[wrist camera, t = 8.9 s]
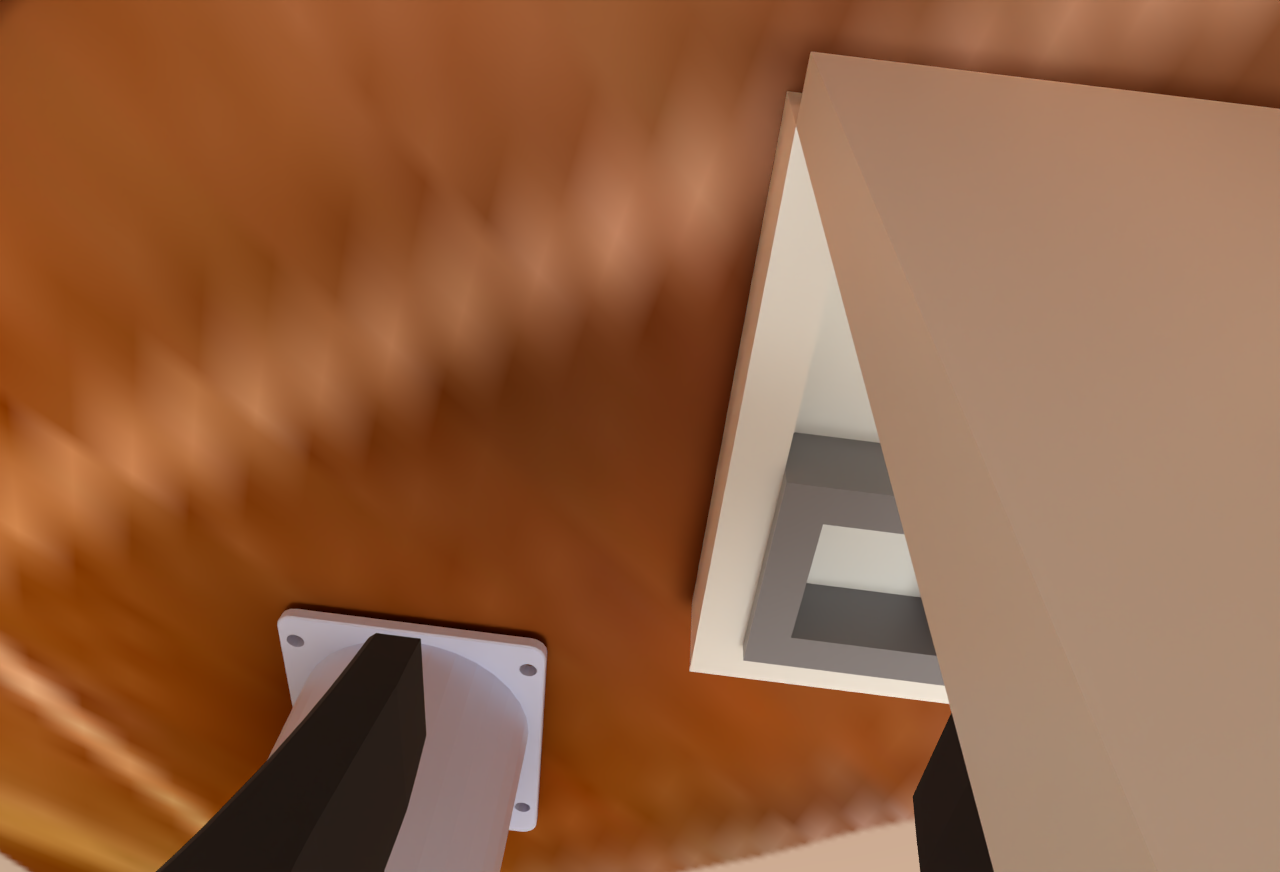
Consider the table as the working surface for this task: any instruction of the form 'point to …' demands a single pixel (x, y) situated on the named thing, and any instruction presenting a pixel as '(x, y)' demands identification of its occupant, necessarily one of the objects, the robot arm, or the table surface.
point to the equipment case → (1021, 450)
